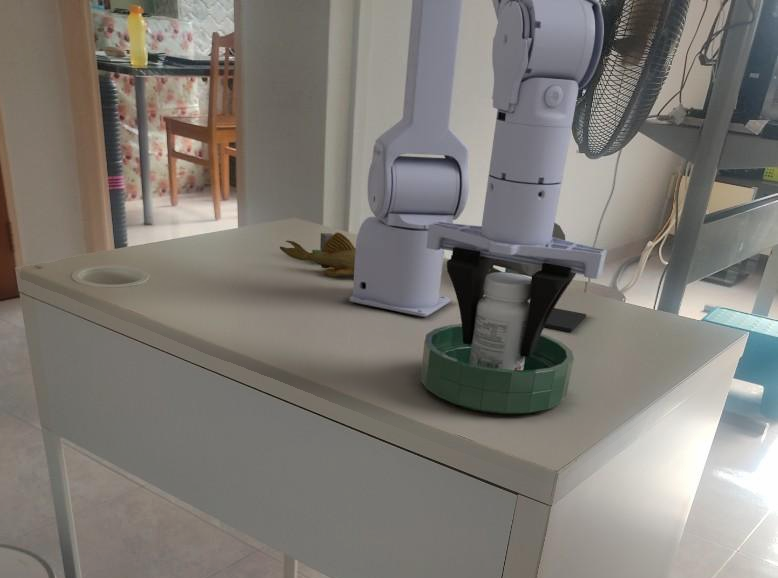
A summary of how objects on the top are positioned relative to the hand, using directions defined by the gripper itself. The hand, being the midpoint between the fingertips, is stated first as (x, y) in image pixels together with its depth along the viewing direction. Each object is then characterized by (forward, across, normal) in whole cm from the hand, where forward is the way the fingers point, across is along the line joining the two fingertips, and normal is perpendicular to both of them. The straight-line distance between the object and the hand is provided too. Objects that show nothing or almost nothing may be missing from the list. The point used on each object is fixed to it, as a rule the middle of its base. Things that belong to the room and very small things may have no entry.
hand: (498, 347), depth 72 cm
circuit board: (+3, -32, +37) cm, 49 cm away
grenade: (-1, -6, +36) cm, 36 cm away
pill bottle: (+3, 0, 0) cm, 3 cm away
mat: (+4, -2, +25) cm, 26 cm away
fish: (+4, -30, +26) cm, 40 cm away
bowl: (+4, 0, 0) cm, 4 cm away
